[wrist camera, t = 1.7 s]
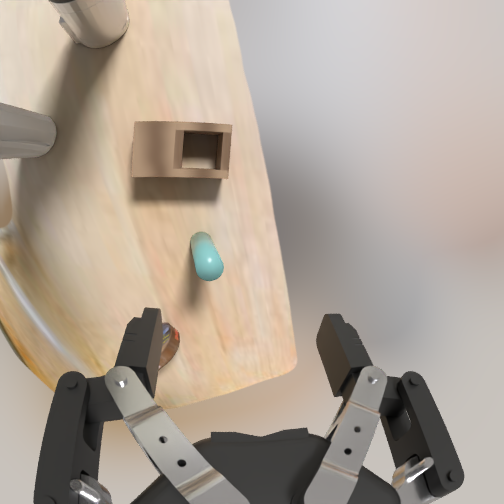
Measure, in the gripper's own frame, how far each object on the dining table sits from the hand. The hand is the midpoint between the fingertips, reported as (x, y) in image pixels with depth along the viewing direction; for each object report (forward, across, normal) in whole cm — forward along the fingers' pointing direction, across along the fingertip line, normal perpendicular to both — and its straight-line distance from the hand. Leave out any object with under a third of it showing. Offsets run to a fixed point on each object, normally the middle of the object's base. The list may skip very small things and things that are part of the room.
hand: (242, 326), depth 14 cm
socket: (+35, +8, -2) cm, 36 cm away
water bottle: (+33, +32, -5) cm, 46 cm away
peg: (+33, +4, +13) cm, 36 cm away
